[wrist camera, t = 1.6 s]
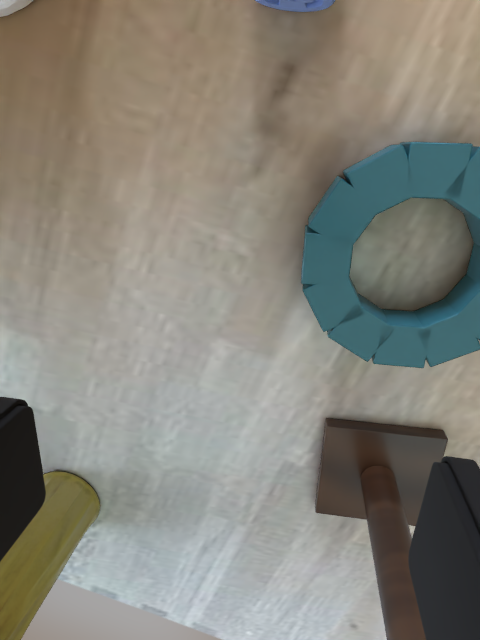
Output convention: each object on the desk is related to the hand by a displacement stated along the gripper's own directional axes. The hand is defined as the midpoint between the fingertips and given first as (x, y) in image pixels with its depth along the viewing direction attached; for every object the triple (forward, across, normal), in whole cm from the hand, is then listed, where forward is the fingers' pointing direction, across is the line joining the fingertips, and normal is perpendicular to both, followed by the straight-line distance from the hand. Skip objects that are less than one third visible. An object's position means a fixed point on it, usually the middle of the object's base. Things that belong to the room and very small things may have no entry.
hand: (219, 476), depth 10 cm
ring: (+18, -8, -2) cm, 20 cm away
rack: (+18, -8, +14) cm, 25 cm away
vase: (+18, +16, +22) cm, 33 cm away
